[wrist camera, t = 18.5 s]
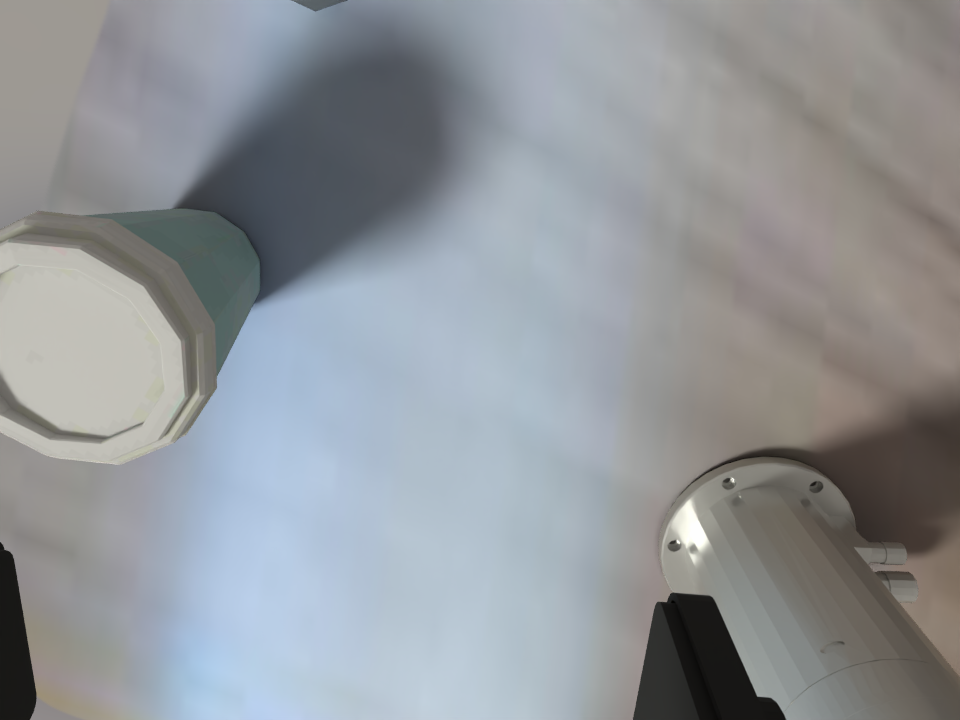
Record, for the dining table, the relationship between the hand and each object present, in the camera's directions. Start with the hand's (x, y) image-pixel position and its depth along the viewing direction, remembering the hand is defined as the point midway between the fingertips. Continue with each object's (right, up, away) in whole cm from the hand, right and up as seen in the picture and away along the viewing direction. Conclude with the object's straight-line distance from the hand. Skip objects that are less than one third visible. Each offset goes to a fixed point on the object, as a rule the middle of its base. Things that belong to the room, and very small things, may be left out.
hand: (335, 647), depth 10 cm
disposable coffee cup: (-14, +9, +31) cm, 35 cm away
